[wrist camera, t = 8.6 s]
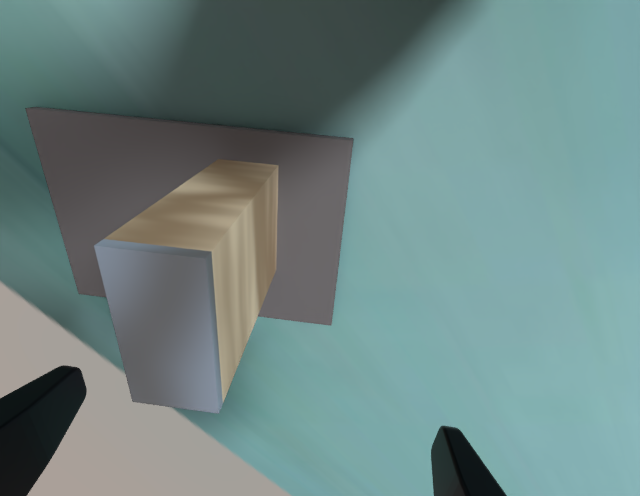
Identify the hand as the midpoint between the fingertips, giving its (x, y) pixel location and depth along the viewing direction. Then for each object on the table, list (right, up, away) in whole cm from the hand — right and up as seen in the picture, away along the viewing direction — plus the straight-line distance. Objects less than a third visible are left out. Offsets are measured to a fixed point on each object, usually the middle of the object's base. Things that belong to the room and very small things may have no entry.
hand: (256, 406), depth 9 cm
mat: (-5, +5, +11) cm, 14 cm away
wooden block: (-2, +5, +10) cm, 12 cm away
